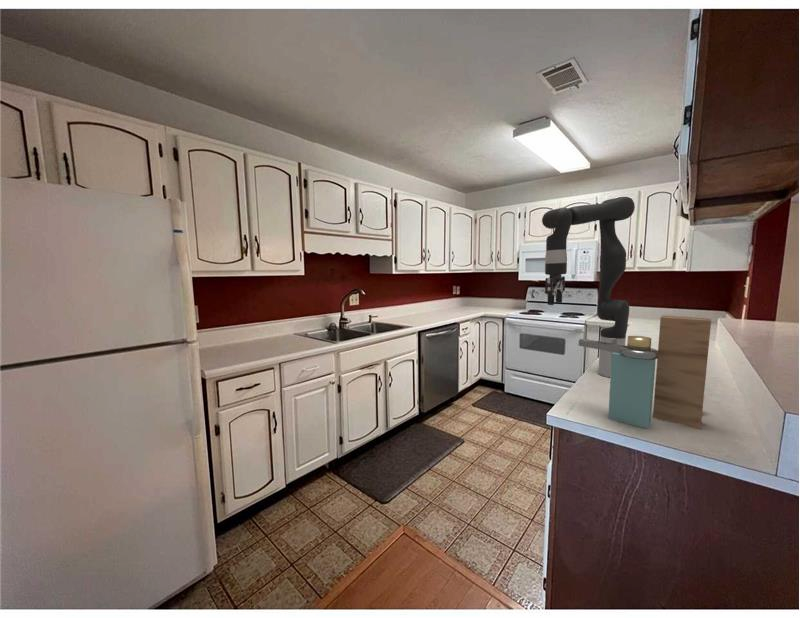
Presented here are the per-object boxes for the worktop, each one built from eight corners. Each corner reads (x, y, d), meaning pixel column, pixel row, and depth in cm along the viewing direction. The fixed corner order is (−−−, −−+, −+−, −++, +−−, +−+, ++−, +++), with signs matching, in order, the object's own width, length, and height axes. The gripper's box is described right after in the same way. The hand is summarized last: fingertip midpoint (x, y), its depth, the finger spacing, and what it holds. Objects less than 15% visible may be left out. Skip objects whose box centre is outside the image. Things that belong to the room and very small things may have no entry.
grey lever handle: (588, 343, 112) (588, 327, 111) (663, 356, 93) (664, 338, 93) (573, 346, 107) (574, 330, 106) (649, 361, 89) (650, 342, 88)
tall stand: (655, 411, 105) (663, 314, 101) (701, 422, 97) (711, 318, 93) (652, 417, 100) (660, 317, 96) (700, 429, 93) (711, 320, 89)
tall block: (612, 412, 104) (616, 350, 102) (650, 422, 97) (655, 355, 95) (608, 418, 100) (612, 353, 98) (647, 428, 93) (653, 359, 91)
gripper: (559, 262, 115) (558, 306, 118) (572, 261, 125) (571, 302, 127) (538, 262, 121) (537, 305, 123) (552, 262, 131) (551, 301, 133)
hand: (554, 303), depth 125 cm, fingers open, 8 cm apart
